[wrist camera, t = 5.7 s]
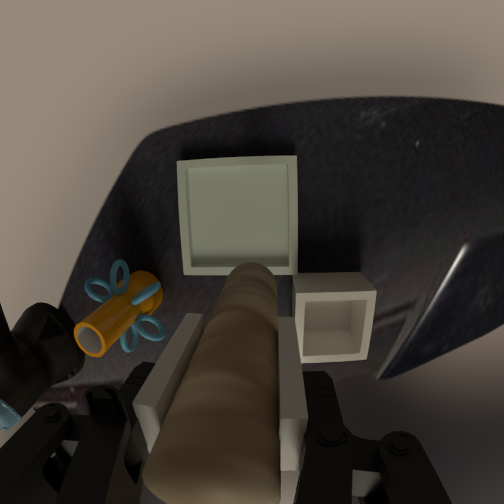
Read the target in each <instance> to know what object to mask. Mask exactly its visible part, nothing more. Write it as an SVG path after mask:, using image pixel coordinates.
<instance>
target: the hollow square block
mask: <svg viewBox="0 0 504 504" xmlns="http://www.w3.org/2000/svg"><path fill="white" fill-rule="evenodd" d="M375 300H376V290H375V288H374V287H373V286H372V285H371V284H370V283H369V281H368V280H367V279H366V278H365V277H364V276H363V275H362V273H361V272H333V273H298V275H292V317H295V324H296V330H297V337H298V344H299V351H300V359H301V363H318V362H337V361H352V360H365V359H367V354H368V348H369V342H370V336H371V329H372V323H373V315H374V308H375Z"/></svg>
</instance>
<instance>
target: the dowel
mask: <svg viewBox="0 0 504 504" xmlns="http://www.w3.org/2000/svg"><path fill="white" fill-rule="evenodd" d="M277 331H278V303H277V283H276V279H275V277H274V275H273V273H272V272H271V271H270V270H269V269H268V268H266V267H265V266H263V265H261V264H258V263H244V264H241V265H239V266H237V267H236V268H234V269H233V270H232V271H231V273H230V274H229V276H228V278H227V280H226V282H225V285H224V287H223V289H222V291H221V293H220V296H219V298H218V300H217V302H216V305H215V307H214V309H213V311H212V313H211V316H210V318H209V320H208V322H207V325H206V327H205V329H204V331H203V334H202V336H201V338H200V340H199V342H198V345H197V347H196V349H195V351H194V354H193V356H192V358H191V360H190V363H189V365H188V367H187V369H186V372H185V374H184V376H183V379H182V381H181V383H180V385H179V388H178V390H177V392H176V394H175V397H174V399H173V401H172V404H171V406H170V408H169V410H168V413H167V415H166V417H165V420H164V422H163V424H162V427H161V429H160V431H159V434H158V436H157V438H156V440H155V443H154V445H153V447H152V450H151V452H150V454H149V457H148V459H147V461H146V464H145V466H144V468H143V471H142V478H143V481H144V483H145V485H146V486H147V488H148V489H150V491H151V492H152V493H153V494H154V495H156V496H157V497H158V498H159V499H161V500H162V501H164V502H166V503H167V504H279V502H280V493H281V491H280V490H281V489H280V488H281V443H280V439H279V400H278V336H277Z"/></svg>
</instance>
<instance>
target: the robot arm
mask: <svg viewBox="0 0 504 504" xmlns="http://www.w3.org/2000/svg"><path fill="white" fill-rule="evenodd" d="M74 329H75V328H74V326H73V325H72V323H71V322H70V321H69V320H68V318H67V317H66V316H65V315H64V314H63V313H62V312H60V311H59V310H58V309H57V308H55V307H53V306H52V305H50V304H47V303H42V302H41V303H36V304H34V305H32V306H31V307H29V308H27V309H26V310H25V311H24V313H23V314H22V316H21V317H20V319H19V320H18V322H17V323H16V325H15V326H14V328H13V329H12V330H11V331H10V329H9V327H8V324H7V321H6V318H5V316H4V313H3V310H2V307H1V304H0V430H2V431H6V430H9V429H10V428H12V426H14V425H15V424H16V423H17V422H18V421H20V420H21V419H22V417H23V416H24V415H25V414H26V413H27V412H28V410H29V409H30V408H31V407H32V406H33V405H34V404H35V403H36V402H37V401H38V400H39V399H40V397H41V396H42V395H43V394H44V393H45V392H46V391H47V390H48V389H49V388H50V387H51V386H53V385H55V384H58V383H60V382H63V381H65V380H68V379H70V378H72V377H74V376H75V375H76V374H77V373H78V372H79V371H80V370H81V369H82V367H83V365H84V361H85V353H84V351H83V350H82V349H81V348H80V347H79V346H78V344H77V342H76V340H75V337H74ZM203 331H204V330H203V315H202V314H192V313H187V314H186V316H185V317H184V319H183V320H182V322H181V324H180V325H179V327H178V328H177V330H176V332H175V333H174V335H173V336H172V338H171V340H170V341H169V343H168V345H167V346H166V348H165V349H164V351H163V353H162V354H161V356H160V358H159V359H158V361H157V363H150V362H143V363H141V364H140V365H138V366H136V367H135V368H134V369H133V371H132V372H131V374H130V375H129V377H128V378H127V379H126V381H125V383H124V384H123V385H122V387H121V388H120V390H118V389H116V388H115V387H112V386H108V385H99V386H96V387H92V388H91V389H89V390H87V391H86V392H85V393H84V394H83V398H84V400H85V403H86V405H87V408H88V410H89V413H90V415H72V414H70V413H69V411H68V409H67V407H66V406H64V405H63V404H60V403H49V404H46V405H44V406H42V407H41V408H39V409H38V410H37V411H36V412H35V413H34V414H33V415H32V416H31V417H30V418H29V419H28V420H27V422H25V423H24V424H23V426H22V427H21V428H20V429H19V430H18V431H17V432H16V433H15V434H14V435H13V436H12V437H11V438H10V439H9V440H8V441H7V442H6V443H5V444H4V445H3V446H2V447H1V448H0V504H140V497H141V491H142V484H143V478H142V471H143V468H144V466H145V459H144V456H143V455H144V453H145V451H146V449H147V448H148V451H149V453H150V452H151V450H152V447H153V445H154V443H155V440H156V438H157V436H158V434H159V431H160V429H161V427H162V424H163V422H164V420H165V417H166V415H167V413H168V410H169V408H170V406H171V404H172V401H173V399H174V397H175V394H176V392H177V390H178V388H179V385H180V383H181V381H182V379H183V376H184V374H185V372H186V369H187V367H188V365H189V363H190V360H191V358H192V356H193V354H194V351H195V349H196V347H197V345H198V342H199V340H200V338H201V336H202V334H203ZM277 336H278V400H279V439H280V443H281V470H298V468H300V475H299V479H298V483H297V487H296V494H295V498H294V503H293V504H351V503H352V495H353V496H358V499H359V502H360V504H452V503H451V501H450V499H449V497H448V495H447V493H446V491H445V489H444V487H443V485H442V483H441V481H440V479H439V477H438V475H437V473H436V471H435V470H434V468H433V466H432V464H431V462H430V460H429V458H428V456H427V455H426V453H425V451H424V449H423V447H422V445H421V444H420V442H419V440H418V439H417V438H416V437H415V436H413V435H411V434H410V433H407V432H402V431H398V432H397V431H396V432H391V433H388V434H386V435H385V436H384V437H383V438H382V439H381V440H380V441H376V440H368V439H362V438H358V437H356V436H354V435H352V434H351V432H350V431H349V430H348V429H347V428H346V427H345V426H344V424H343V420H342V416H341V412H340V408H339V404H338V400H337V397H336V392H335V390H334V385H333V381H332V378H331V377H330V376H329V375H328V374H327V373H326V372H325V371H303V372H302V366H301V359H300V351H299V344H298V337H297V330H296V324H295V317H278V331H277ZM54 452H55V453H56V455H55V456H54V457H50V456H51V455H52V454H53V453H54Z"/></svg>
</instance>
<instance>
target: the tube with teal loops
mask: <svg viewBox="0 0 504 504" xmlns="http://www.w3.org/2000/svg"><path fill="white" fill-rule="evenodd" d="M119 266H121V267H122V269H123V274H124V279H123V280H121V281H120V282H119V283H118V284H117V282H116V274H117V270H118V268H119ZM91 284H99V285H101V286H103V287H105V288H106V289H107V290H108V292H109V295H108V296H101V295H98V294H96V293H95V292H94V291H93V290H92V289H91V287H90V285H91ZM84 287H85V290H86V292H87V294H88V295H89V296H90V297H91V298H93V299H94V300H96V301H99V302H104V304H102V305H101V306H100V307H98V308H97V309H96V310H95V311H93V312H92V313H91V314H90V315H88V316H87V317H86V318H85V319H83V320H82V321H81V322H80V323H78V324H77V325H76V326H75V329H74V337H75V340H76V342H77V344H78V346H79V347H80V348H81V349H82V350H83V351H84V352H85V353H86V354H88V355H90V356H92V357H100V356H102V355H103V354H104V353H105V352H106V351H107V350H108V349H109V348H110V346H111V345H112V344H113V343H114V342H115V341H116V340H117V339H118V338H119V337H120V343H121V346H122V348H123V350H124V351H126V352H131V351H133V350H134V348H135V346H136V343H137V338H138V332H139V333H140V334H141V335H142V336H143V337H145V338H147V339H149V340H152V341H159V340H162V339H163V338H164V337H165V335H166V330H165V327H164V325H163V324H162V323H161V322H160V321H159V320H158V319H157V318H155V317H153V316H151V314H152V313H153V312H154V310H155V309H156V308H157V307H158V306H159V305H160V303H161V301H162V298H163V289H162V286H161V283H160V282H159V280H158V279H157V278H156V277H155V276H154V275H153V274H151V273H150V272H147V271H142V270H139V271H135V272H133V273H131V274H129V268H128V265H127V263H126V262H125V261H124V260H122V259H119V260H116V261H115V262H114V264H113V265H112V268H111V271H110V284H109V283H108V282H106V281H104V280H102V279H100V278H90V279H88V280H87V281H86V282H85V285H84ZM142 320H147V321H150V322H152V323H154V324H155V325H156V326H157V327H158V328H159V330H160V333H159V334H157V335H155V334H151V333H149V332H147V331H146V330H144V329H143V327H142V326H141V323H140V322H141V321H142ZM129 326H130V327H131V329H132V340H131V343H130V345H129V346H128V345H127V343H126V333H127V329H128V327H129ZM137 331H138V332H137Z"/></svg>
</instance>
